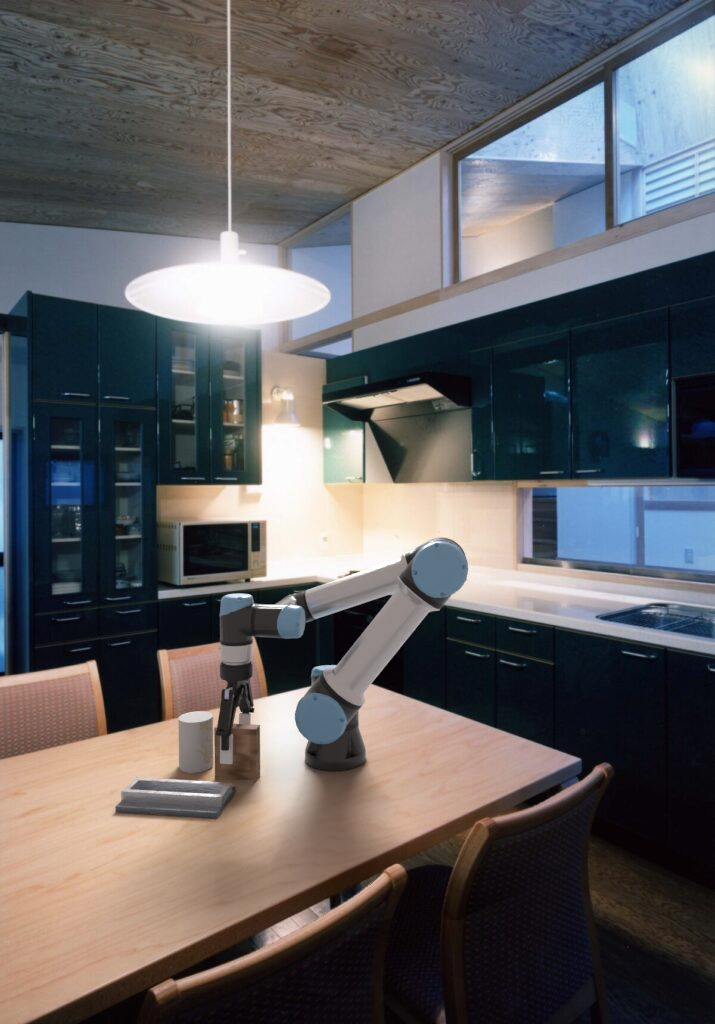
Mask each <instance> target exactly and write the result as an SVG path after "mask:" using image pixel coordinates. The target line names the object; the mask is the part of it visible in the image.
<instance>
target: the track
mask: <svg viewBox="0 0 715 1024" xmlns="http://www.w3.org/2000/svg"><path fill="white" fill-rule="evenodd" d="M236 792H237V787H236V786H235V785H233V782H228V781H227V782H226V781H225V782H224V781H208V780H205V781H204V780H189V779H173V778H171V779H169V778H154V777H153V778H151V777H135V778H134V779H133V780H132V781H130V783H129V784H128V785H126V786H125V787H124V788H123V789H122V790H121V791H120V796H121V797H120V799H121V800H120V802H119V803H118V804H116V805H115V811H114V812H115V813H120V814H123V813H124V814H139V815H153V816H168V817H169V816H170V817H187V818H202V819H203V818H204V819H215V820H216V819H219V817H220V815H222V813H223V811H224V810H225V808H226V807H227V806H228V805H229V803H230V801H231V800H232V798H233V797H234V795H235V794H236Z"/></svg>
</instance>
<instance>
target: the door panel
mask: <svg viewBox="0 0 715 1024" xmlns="http://www.w3.org/2000/svg"><path fill="white" fill-rule="evenodd" d="M217 725H218V723H217V724H216V725H215V726H213V745H214V779H215V780H234V781H235V780H236V781H250V782H251V781H252V782H257V781H258V780H259V778H260V777H261V725H260V724H253V723H252V724H239V723H233V727H232V732H231V734H233V763H232V764H220V736H217V735H216V731H217ZM223 730H225V729H223Z"/></svg>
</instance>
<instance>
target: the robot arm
mask: <svg viewBox="0 0 715 1024" xmlns="http://www.w3.org/2000/svg"><path fill="white" fill-rule="evenodd" d="M468 574H469V563H468V559H467V556H466V553H465V550H464V549H463V547H462V546H461V545H460V544H459V543H458V542H456V541H455V540H453V539H450V538H448V537H435V538H432V539H429V540H428V541H426V542H424V543H423V544H421V545H419V546H416V547H414V548H412V549H409V550H407V551H403V552H402V554H401V557H399V558H395V559H393V560H390V561H387V562H384V563H381V564H379V565H376V566H373V567H370V568H367V569H364V570H362V571H357V572H355V573H352V574H349V575H346V576H344V577H341V578H338V579H335V580H333V581H329V582H326V583H323V584H321V585H317V586H315V587H312V588H309V589H306V590H303V591H300V592H298V593H292V594H288V595H286V596H285V597H283V598H282V599H281V600H279V601H278V602H276V603H275V604H264V603H261V604H260V603H255V601H254V597H253V595H251V594H249V593H228V594H225V595H223V596H222V597H221V600H220V610H219V635H220V637H219V646H218V648H217V649H218V650H219V651H220V652H219V659H220V661H221V662H220V663H219V678H220V679H221V680H222V681H226V687H225V688H222V690H221V692H220V693H221V694H220V695H221V697H220V705H219V706H220V707H219V713H218V720H217V724H218V725H217V724H216V725H217V731H216V735H217V736H220V764H232V763H233V734H231V732H232V727H233V724H235V723H234V722H235V718H236V712H237V708H238V709H239V711H240V712H239V714H238V724H251V722H252V721H251V717H252V716H251V714H253V713H255V707H254V699H253V692H252V687H251V678H253V674H254V672H253V670H254V669H253V667H254V666H253V664H254V663H253V661H252V660H253V659H254V637H255V638H258V637H259V638H273V639H275V638H276V639H284V640H289V639H299V638H301V637H302V636H303V635H304V631H305V627H306V623H309V622H312V621H314V620H317V619H320V618H323V617H326V616H329V615H332V614H335V613H339V612H341V611H343V610H347V609H350V608H353V607H356V606H360V605H362V604H365V603H368V602H371V601H374V600H377V599H380V598H383V597H386V596H387V597H388V596H389V595H391V597H390V598H389V599H388V600H387V602H386V603H385V604H384V605H383V607H382V608H381V609H380V611H379V612H378V613H377V614H376V615H375V616H374V618H373V619H372V620H371V622H370V623H369V625H367V627H366V628H365V629H364V630H363V632H362V633H361V635H360V636H359V637H358V638H357V639H356V641H355V642H354V643H353V645H351V647H350V648H349V650H347V652H346V653H345V655H343V657H342V658H341V660H340V661H338V663H337V664H331V665H329V664H325V665H318V666H314V667H313V668H312V669H311V675H310V679H311V686H310V687H309V689H308V690H307V691H306V692H305V694H304V695H303V696H302V697H301V698H300V700H298V702H297V705H296V708H295V711H294V720H295V721H294V722H295V725H296V727H297V731H298V732H299V733H300V735H302V736H303V737H304V739H306V740H307V743H306V746H305V749H304V760H305V763H306V764H307V765H308V766H310V767H312V768H315V769H318V770H321V771H329V772H331V771H332V772H333V771H335V772H336V771H337V772H338V771H339V772H340V771H347V770H351V769H354V768H357V767H359V766H361V765H363V764H364V763H365V761H366V758H367V753H366V752H367V751H366V750H367V749H366V746H365V743H364V739H363V736H362V734H361V731H360V728H359V727H360V725H359V724H360V723H359V719H360V718H359V717H360V715H359V712H360V711H359V710H360V709H361V708H362V706H364V704H365V703H366V702H365V701H366V700H365V693H366V691H367V690H368V688H369V687H370V686H371V685H372V683H373V682H374V681H375V680H376V678H377V677H378V676H379V675H380V674H381V672H382V671H383V670H384V669H385V667H386V666H388V663H389V662H390V661H391V660H392V659H393V658H394V656H395V655H396V654H397V653H398V651H400V649H401V647H402V646H403V645H404V643H406V641H407V640H408V639H409V638H410V637H411V635H412V634H413V633H414V631H416V629H417V627H418V626H419V625H420V624H421V623H422V621H423V620H424V619H425V618H426V616H428V614H429V613H431V612H437V611H440V610H441V609H442V608H443V606H444V605H445V604H446V603H447V601H449V599H450V598H451V596H453V595H454V594H456V593H457V592H459V590H461V588H462V587H463V586H464V584H465V583H466V580H467V578H468ZM223 729H225V730H223Z"/></svg>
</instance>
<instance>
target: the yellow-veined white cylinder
mask: <svg viewBox="0 0 715 1024" xmlns="http://www.w3.org/2000/svg"><path fill="white" fill-rule="evenodd" d="M177 719H178V720H177V721H178V769H179V770H180V771H181V772H184V773H188V774H189V773H190V774H191V773H195V774H196V773H201V772H205V771H208V770H210V769H211V768H213V766H214V714H213V713H212V712H210V711H205V710H197V711H190V712H186V713H185V712H184V713H182V714H181V715H179V717H178V718H177Z"/></svg>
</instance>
